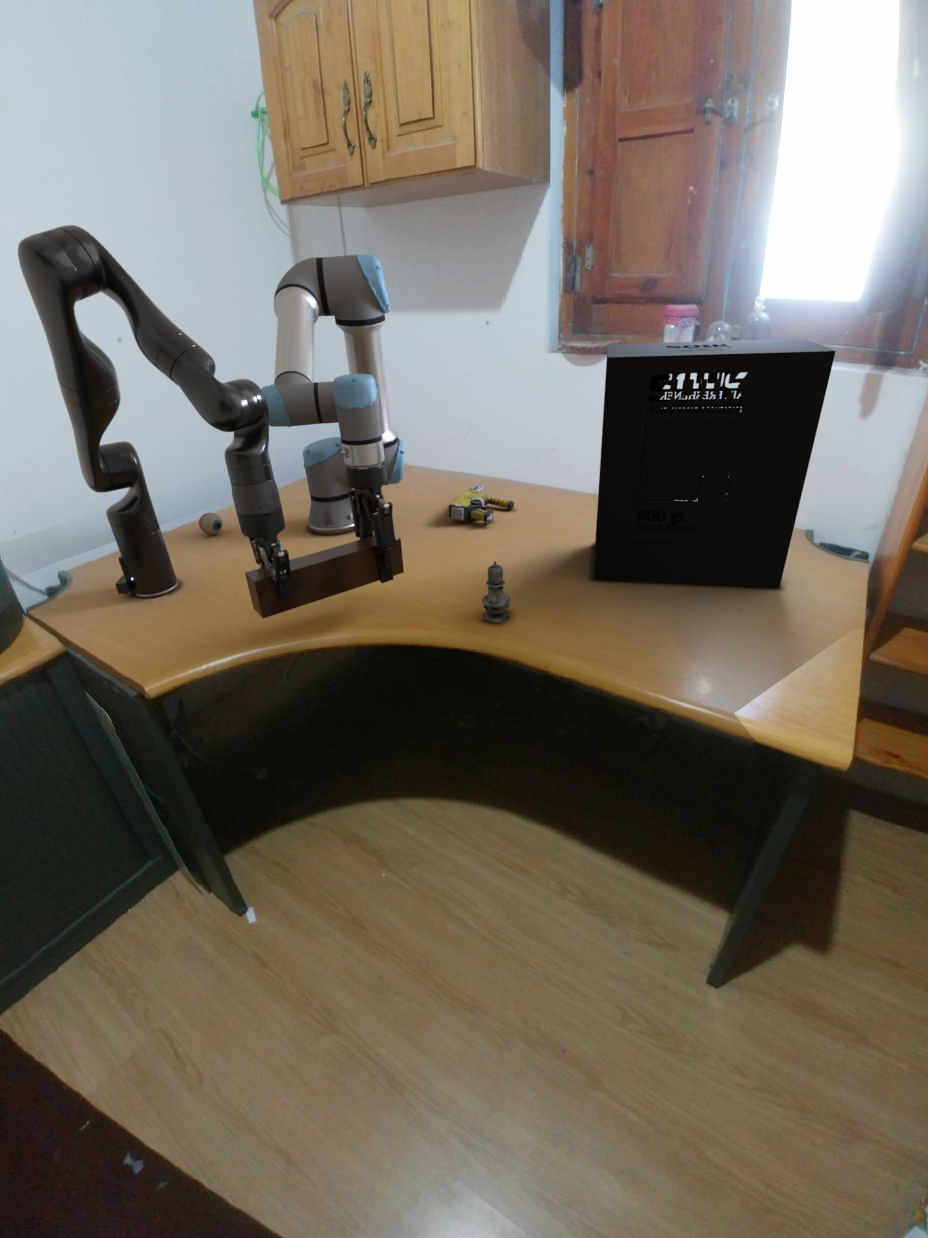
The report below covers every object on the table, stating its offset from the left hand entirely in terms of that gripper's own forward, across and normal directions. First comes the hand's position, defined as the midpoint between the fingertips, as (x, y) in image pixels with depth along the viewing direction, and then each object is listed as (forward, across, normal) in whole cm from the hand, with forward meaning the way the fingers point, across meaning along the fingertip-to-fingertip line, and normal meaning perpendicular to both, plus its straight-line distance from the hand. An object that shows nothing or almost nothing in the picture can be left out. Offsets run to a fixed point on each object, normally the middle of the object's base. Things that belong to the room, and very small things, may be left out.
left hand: (278, 592), depth 112 cm
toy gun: (+10, -29, +72) cm, 78 cm away
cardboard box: (+10, +29, +82) cm, 87 cm away
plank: (+3, 0, +10) cm, 11 cm away
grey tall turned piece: (+10, +20, +36) cm, 42 cm away
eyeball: (+10, -68, +6) cm, 69 cm away
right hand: (+4, 0, +21) cm, 21 cm away
